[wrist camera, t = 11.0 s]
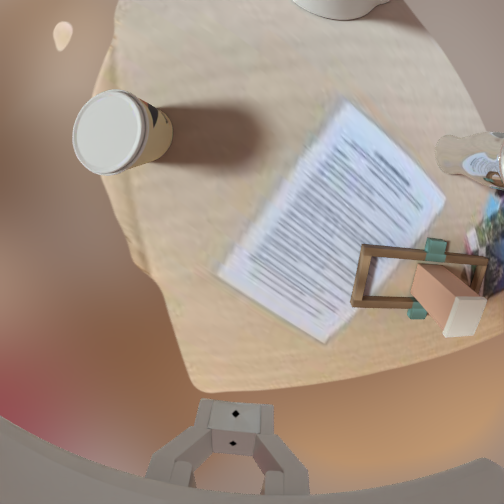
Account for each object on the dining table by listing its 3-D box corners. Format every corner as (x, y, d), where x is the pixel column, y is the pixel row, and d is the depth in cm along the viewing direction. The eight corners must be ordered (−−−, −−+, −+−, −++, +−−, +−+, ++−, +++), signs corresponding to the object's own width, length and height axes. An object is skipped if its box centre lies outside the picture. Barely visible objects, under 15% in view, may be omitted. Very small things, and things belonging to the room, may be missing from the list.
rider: (417, 262, 41) (459, 300, 29) (443, 264, 41) (487, 299, 29) (408, 293, 43) (445, 337, 31) (434, 294, 43) (473, 335, 30)
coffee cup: (191, 117, 36) (160, 105, 25) (161, 178, 39) (122, 190, 28) (135, 93, 35) (91, 78, 24) (109, 152, 38) (59, 157, 26)
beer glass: (472, 161, 35) (537, 173, 21) (446, 186, 37) (511, 206, 23) (451, 123, 34) (517, 121, 20) (424, 147, 35) (489, 152, 21)
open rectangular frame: (364, 230, 40) (367, 233, 38) (486, 245, 39) (491, 248, 38) (347, 313, 44) (349, 318, 43) (465, 313, 44) (469, 317, 42)
